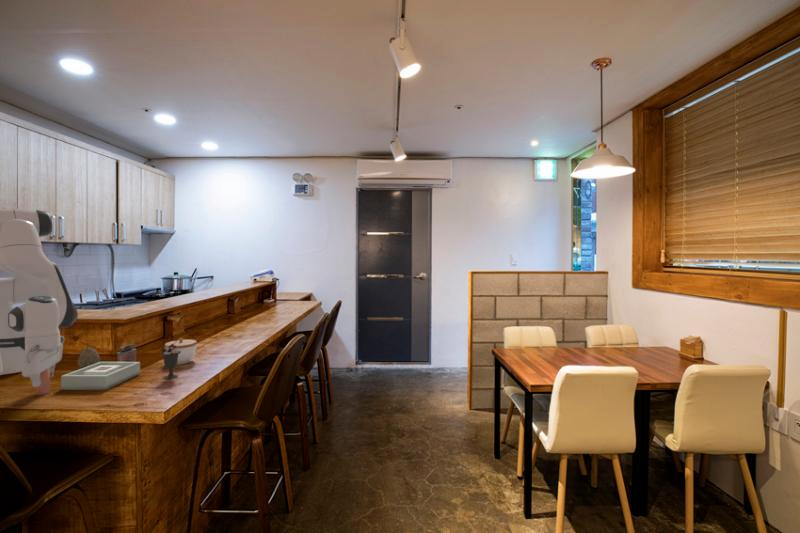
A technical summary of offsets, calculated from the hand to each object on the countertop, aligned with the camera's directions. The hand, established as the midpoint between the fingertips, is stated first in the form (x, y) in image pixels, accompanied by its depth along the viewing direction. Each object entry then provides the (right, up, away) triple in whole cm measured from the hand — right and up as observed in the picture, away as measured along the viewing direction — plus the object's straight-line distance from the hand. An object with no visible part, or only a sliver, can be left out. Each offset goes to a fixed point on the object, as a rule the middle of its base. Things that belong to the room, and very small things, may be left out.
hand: (43, 381), depth 128 cm
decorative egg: (-6, -4, +25) cm, 26 cm away
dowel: (0, -4, 0) cm, 4 cm away
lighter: (+7, -4, +30) cm, 31 cm away
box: (+11, -4, +13) cm, 17 cm away
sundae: (+34, -4, +18) cm, 39 cm away
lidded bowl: (+25, -4, +39) cm, 47 cm away
